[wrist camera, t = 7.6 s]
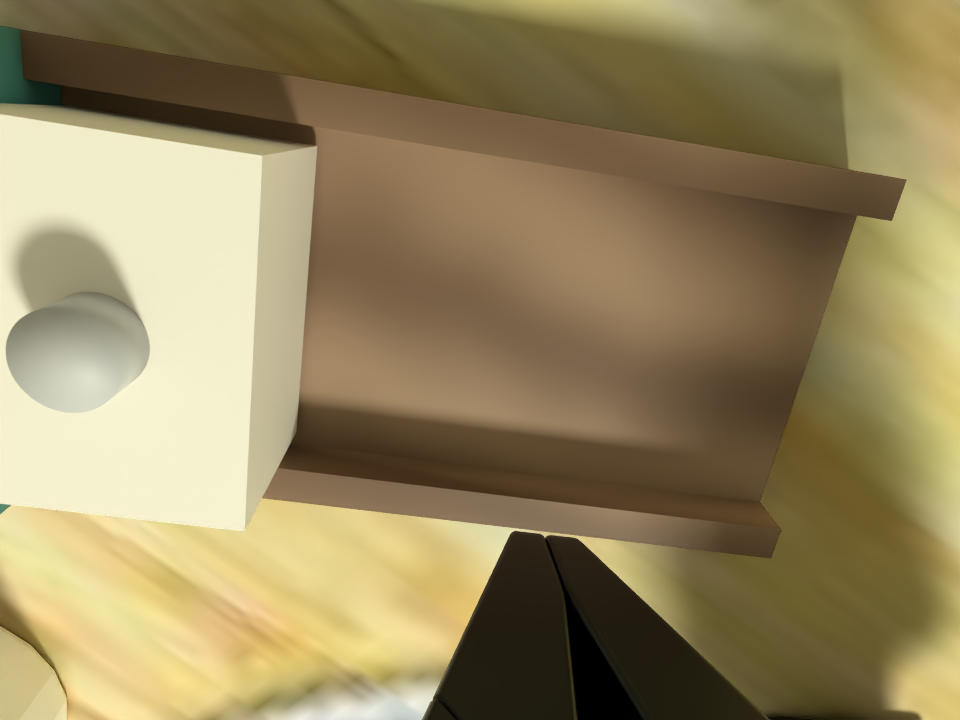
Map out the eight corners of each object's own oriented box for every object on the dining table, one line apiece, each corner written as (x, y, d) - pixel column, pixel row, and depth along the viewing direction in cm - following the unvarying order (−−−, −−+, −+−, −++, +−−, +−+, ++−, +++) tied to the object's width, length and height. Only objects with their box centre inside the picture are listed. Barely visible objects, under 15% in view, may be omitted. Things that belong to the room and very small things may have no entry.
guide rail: (737, 512, 22) (813, 617, 17) (27, 424, 20) (-102, 515, 16) (849, 172, 19) (982, 189, 14) (-3, 28, 17) (-182, -8, 12)
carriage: (296, 431, 19) (226, 566, 14) (82, 404, 19) (-86, 531, 13) (317, 145, 17) (242, 159, 11) (69, 106, 16) (-148, 97, 10)
